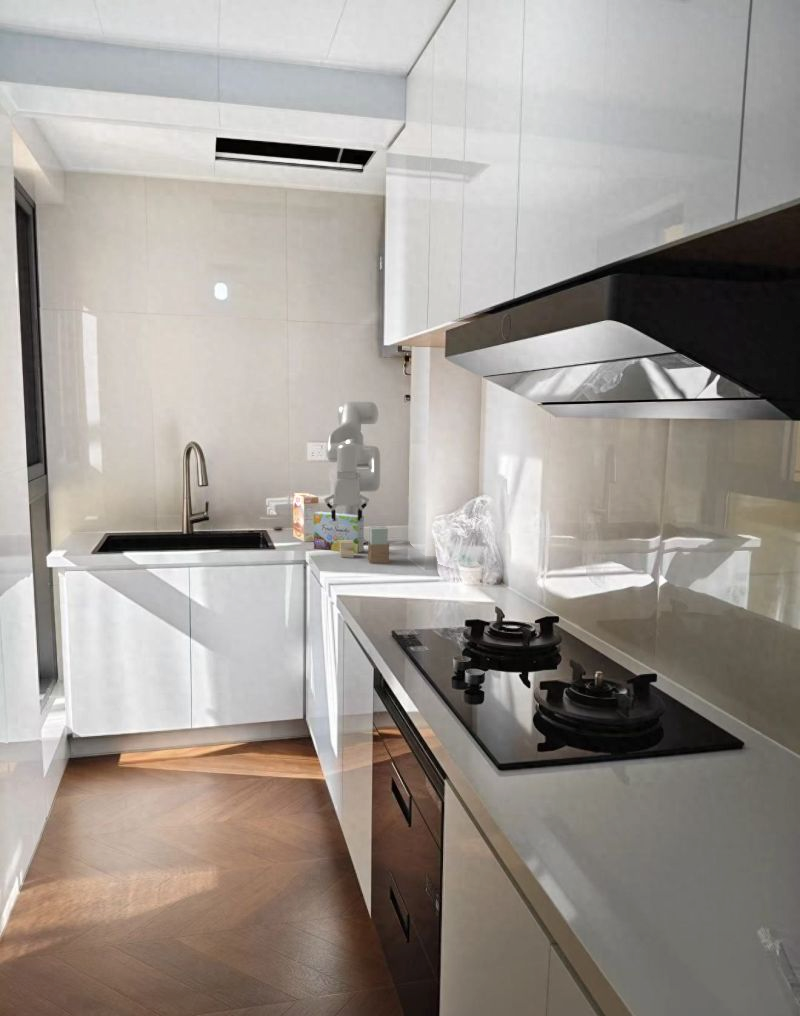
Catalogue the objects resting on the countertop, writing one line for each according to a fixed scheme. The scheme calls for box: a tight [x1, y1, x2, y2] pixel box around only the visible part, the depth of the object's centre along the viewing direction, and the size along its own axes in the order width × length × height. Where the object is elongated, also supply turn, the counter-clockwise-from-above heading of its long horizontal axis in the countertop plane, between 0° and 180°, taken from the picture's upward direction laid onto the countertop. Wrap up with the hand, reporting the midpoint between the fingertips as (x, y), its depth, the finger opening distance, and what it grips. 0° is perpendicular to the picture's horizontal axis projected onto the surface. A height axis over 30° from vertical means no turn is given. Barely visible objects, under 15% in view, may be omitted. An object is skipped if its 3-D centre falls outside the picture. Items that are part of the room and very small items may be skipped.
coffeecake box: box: [292, 492, 319, 543], centre depth 365 cm, size 15×7×20 cm, turn 25°
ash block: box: [339, 540, 355, 558], centre depth 326 cm, size 5×5×6 cm
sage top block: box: [369, 526, 389, 545], centre depth 315 cm, size 6×6×6 cm
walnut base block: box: [367, 541, 390, 564], centre depth 316 cm, size 7×7×7 cm
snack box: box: [313, 510, 365, 554], centre depth 339 cm, size 21×6×15 cm, turn 62°
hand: (346, 520), depth 324 cm, fingers open, 9 cm apart
